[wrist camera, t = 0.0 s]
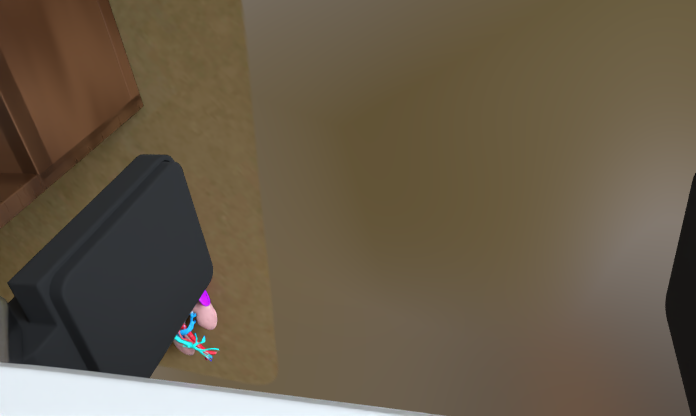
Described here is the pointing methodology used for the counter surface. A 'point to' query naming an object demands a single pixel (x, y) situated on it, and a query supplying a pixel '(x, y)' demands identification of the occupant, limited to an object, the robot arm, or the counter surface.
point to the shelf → (57, 91)
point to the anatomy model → (205, 319)
